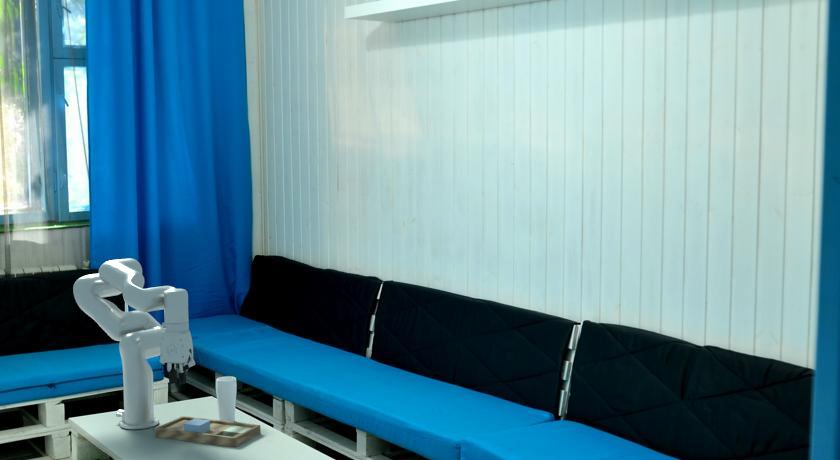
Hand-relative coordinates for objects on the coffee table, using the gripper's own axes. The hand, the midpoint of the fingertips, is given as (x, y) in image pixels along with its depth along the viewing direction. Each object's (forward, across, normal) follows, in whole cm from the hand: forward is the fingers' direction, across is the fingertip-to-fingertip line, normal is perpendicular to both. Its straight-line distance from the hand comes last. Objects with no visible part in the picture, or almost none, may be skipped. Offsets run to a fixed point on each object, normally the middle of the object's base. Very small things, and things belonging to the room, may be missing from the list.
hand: (177, 383), depth 301 cm
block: (+15, +7, 0) cm, 17 cm away
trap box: (+17, +9, +3) cm, 20 cm away
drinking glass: (+17, +6, +18) cm, 26 cm away
